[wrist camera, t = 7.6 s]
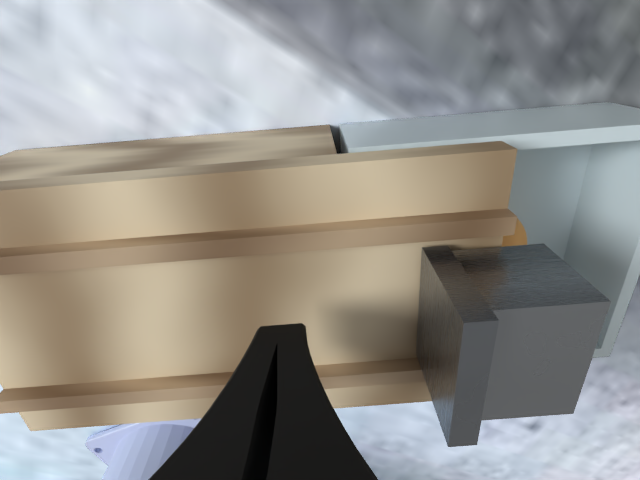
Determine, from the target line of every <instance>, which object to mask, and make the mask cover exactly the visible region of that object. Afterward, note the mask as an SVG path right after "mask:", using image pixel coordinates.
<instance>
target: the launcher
mask: <svg viewBox="0 0 640 480" xmlns="http://www.w3.org/2000/svg"><path fill="white" fill-rule="evenodd" d="M516 155H517V148H515V147H513V146H511V145H509V144H507V143H505V142H503V141H493V142H480V143H468V144H455V145H443V146H431V147H418V148H406V149H393V150H381V151H368V152H356V153H344V154H337V152H336V148H335V144H334V141H333V137H332V133H331V129H330V125H320V126H308V127H295V128H283V129H271V130H258V131H246V132H234V133H221V134H209V135H197V136H185V137H172V138H160V139H148V140H135V141H123V142H111V143H98V144H86V145H74V146H61V147H49V148H37V149H24V150H15V151H12V152H10V153H7V154H4V155H2V156H0V384H1V385H2V387H3V390H2V392H1V393H0V414H1V413H15V412H19V414H20V415H21V417H22V418H23V420H24V421H25V423H26V425H27V426H28V428H29V429H30V431H38V430H51V429H64V428H78V427H91V426H105V425H118V424H131V423H145V422H158V421H172V420H185V419H198V418H203V416H204V415H205V414H206V412H207V411H208V410H209V408H210V407H211V405H212V404H213V402H214V401H215V400H216V398H217V397H218V395H219V394H220V392H221V391H222V390H223V388H224V387H225V385H226V384H227V382H228V381H229V379H230V377H231V376H232V374H233V372H234V371H235V369H236V368H237V366H238V364H239V363H240V361H241V359H242V358H243V356H244V354H245V352H246V351H247V349H248V347H249V345H250V343H251V341H252V339H253V337H254V335H255V333H256V331H257V329H258V328H259V327H260V326H271V325H284V324H296V323H302V324H304V325H305V326H306V333H307V342H308V347H309V351H310V354H311V357H312V360H313V363H314V366H315V368H316V371H317V374H318V376H319V379H320V381H321V383H322V386H323V388H324V390H325V392H326V394H327V396H328V399H329V401H330V403H331V405H332V407H333V408H346V407H359V406H372V405H386V404H399V403H413V402H426V401H432V399H431V396H430V393H429V390H428V387H427V384H426V381H425V378H424V376H423V373H422V370H421V367H420V364H419V361H418V358H417V355H416V344H417V326H418V308H419V290H420V272H421V254H422V247H432V246H445V245H448V246H449V248H450V249H451V251H453V250H466V249H478V248H491V247H502V241H503V236H508V235H514V233H515V227H516V222H517V216H516V215H515V214H514V213H513V212H512V211H510V210H509V209H508V204H509V198H510V192H511V186H512V180H513V174H514V168H515V161H516Z"/></svg>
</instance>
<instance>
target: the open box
mask: <svg viewBox="0 0 640 480" xmlns="http://www.w3.org/2000/svg"><path fill="white" fill-rule="evenodd" d="M339 132H340V153H341V154H344V153H356V152H368V151H381V150H393V149H406V148H418V147H431V146H443V145H455V144H468V143H480V142H493V141H503V142H505V143H507V144H509V145H511V146H513V147H515V148H517V155H516V161H515V168H514V174H513V180H512V186H511V192H510V198H509V204H508V209H509V210H510V211H512V212H513V213H514V214H515V215H516V216H517V218H518V219H519V221H520V222H521V223H522V225H523V227H524V229H525V231H526V235H527V245H530V244H542V243H544V244H545V245H546V246H547V247H548V248H550V249H551V250H552V251H553V252H554V253H555V254H557V255H558V256H559V257H560V258H561V259H562V260H564V261H565V262H566V263H567V264H568V265H569V266H571V267H572V268H573V269H574V270H575V271H576V272H578V273H579V274H580V275H581V276H582V277H583V278H585V279H586V280H587V281H588V282H589V283H590V284H592V285H593V286H594V287H595V288H596V289H597V290H599V291H600V292H601V293H602V294H603V295H604V296H606V297H607V298H608V299H609V300H610V301H611V304H610V307H609V310H608V312H607V315H606V318H605V321H604V324H603V327H602V330H601V333H600V336H599V339H598V342H597V345H596V348H595V351H594V354H593V357H592V358H596V357H609V356H610V354H611V351H612V349H613V346H614V343H615V340H616V338H617V335H618V332H619V329H620V327H621V324H622V321H623V319H624V316H625V313H626V310H627V308H628V305H629V302H630V299H631V297H632V294H633V291H634V288H635V286H636V283H637V280H638V278H639V275H640V109H639V108H634V107H629V106H625V105H620V104H615V103H610V102H604V103H592V104H579V105H567V106H555V107H543V108H530V109H518V110H506V111H493V112H481V113H469V114H456V115H444V116H432V117H419V118H407V119H395V120H382V121H370V122H358V123H345V124H339Z"/></svg>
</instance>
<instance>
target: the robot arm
mask: <svg viewBox="0 0 640 480" xmlns="http://www.w3.org/2000/svg"><path fill="white" fill-rule="evenodd" d="M85 446H86V447H87V448H88V449H89V450H90V451H91V452H92V453H94V454H95V455H96V456H97V457H98V458H99V459H101V460H102V461H103V462H104V463H105V464H107V465H108V467H107V469H106V471H105V473H104V476H103V478H102V480H378V479H377V477H376V476H375V474H374V473H373V472H372V470H371V469H370V467H369V466H368V464H367V463H366V461H365V460H364V458H363V457H362V456H361V454H360V453H359V451H358V450H357V448H356V447H355V445H354V443H353V442H352V440H351V438H350V437H349V435H348V434H347V432H346V430H345V429H344V427H343V425H342V423H341V421H340V420H339V418H338V416H337V414H336V412H335V411H334V409H333V407H332V405H331V403H330V401H329V399H328V396H327V394H326V392H325V390H324V388H323V386H322V383H321V381H320V379H319V376H318V374H317V371H316V368H315V366H314V363H313V360H312V357H311V354H310V351H309V347H308V342H307V333H306V326H305V325H304V324H302V323H296V324H284V325H271V326H260V327H259V328H258V329H257V331H256V333H255V335H254V337H253V339H252V341H251V343H250V345H249V347H248V349H247V351H246V352H245V354H244V356H243V358H242V359H241V361H240V363H239V364H238V366H237V368H236V369H235V371H234V372H233V374H232V376H231V377H230V379H229V381H228V382H227V384H226V385H225V387H224V388H223V390H222V391H221V392H220V394H219V395H218V397H217V398H216V400H215V401H214V402H213V404H212V405H211V407H210V408H209V410H208V411H207V412H206V414H205V415H204V416H203V418H198V419H185V420H172V421H158V422H145V423H131V424H122V425H120V426H117V427H114V428H111V429H108V430H106V431H103V432H100V433H97V434H95V435H92V436H90V437H88V439H87V441H86V443H85Z"/></svg>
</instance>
